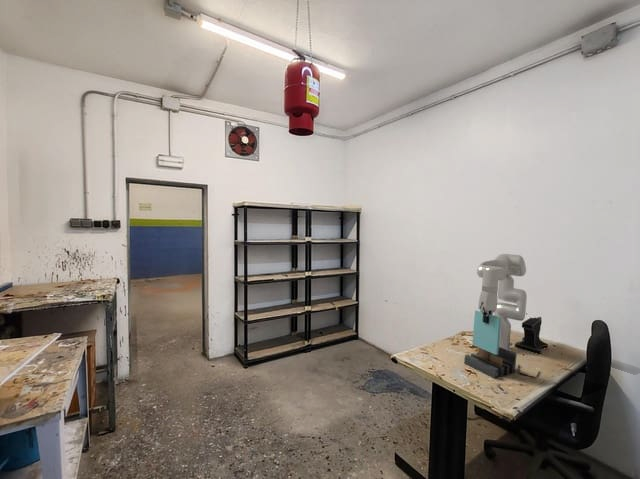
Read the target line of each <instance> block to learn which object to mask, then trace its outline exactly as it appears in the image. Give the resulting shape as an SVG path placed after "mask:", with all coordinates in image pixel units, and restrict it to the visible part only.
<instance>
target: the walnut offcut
mask: <svg viewBox="0 0 640 479" xmlns="http://www.w3.org/2000/svg"><path fill="white" fill-rule="evenodd" d="M478 355H479V356H481V357H483V358H485V359H487V360H490V352H488V351H486V350H484V349H481V348H479V347H478Z"/></svg>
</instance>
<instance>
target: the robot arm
mask: <svg viewBox="0 0 640 479" xmlns="http://www.w3.org/2000/svg"><path fill="white" fill-rule="evenodd" d="M526 273H527V266H526V263H525V259H524V257H523V256H522V255H519V254H511V253H501V254H499V255H498V256H496V257H495V258H494V259H491V260H486V261H483V262H481V263H480V264H479V265H478V267H477V270H476V274H477V276H478V277H479V278H482V284H481V292H480V293H479V294H480V295H479V299H478V306H477V307H478V308H477V309H479V311H480V312H482V313H483V322H484V323H487V324H488V323H489V314H491V315H494V316H497V317H501V326H500V338H499V347H501V348H504V349H506V350H509V351H512V348H510V346H513V343H512V342H510V340H511V330H512V325H511V322H510V320H513V321H522V322H523V321H525V318H526V310H527V309H526V308H527V298H528V297H527V292H526V290H524V289H521V288H515V287H514V285H515V279H514V278H513V276H514V277H524V276H525V274H526ZM498 299H499V300H501V301H504V302H498ZM506 302H507V303H506ZM512 303H513V304H512ZM509 319H510V320H509ZM512 352H513V351H512Z"/></svg>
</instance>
